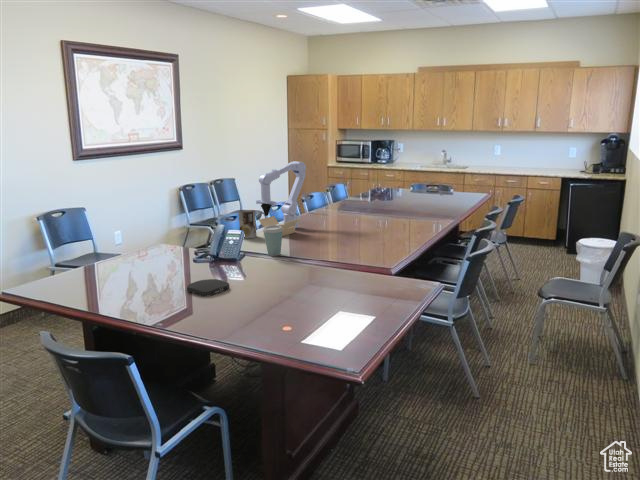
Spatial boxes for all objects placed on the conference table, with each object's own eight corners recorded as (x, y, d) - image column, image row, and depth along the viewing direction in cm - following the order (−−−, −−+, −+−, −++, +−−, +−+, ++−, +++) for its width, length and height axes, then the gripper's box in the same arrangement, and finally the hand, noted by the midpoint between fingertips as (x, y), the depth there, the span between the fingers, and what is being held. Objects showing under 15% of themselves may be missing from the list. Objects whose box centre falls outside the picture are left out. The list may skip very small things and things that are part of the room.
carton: (280, 230, 339) (280, 224, 338) (295, 232, 332) (295, 226, 332) (263, 235, 325) (263, 229, 324) (278, 237, 318) (278, 231, 317)
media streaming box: (211, 283, 232) (210, 276, 231) (233, 289, 222) (232, 282, 222) (183, 291, 221) (182, 284, 220) (205, 298, 211) (205, 291, 211)
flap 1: (278, 224, 337) (273, 216, 338) (279, 223, 337) (273, 215, 338) (264, 228, 325) (258, 219, 326) (264, 227, 325) (259, 219, 326)
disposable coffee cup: (280, 257, 272) (280, 228, 269) (260, 256, 274) (259, 228, 271) (286, 252, 282) (285, 224, 279) (267, 251, 284) (266, 224, 281)
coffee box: (256, 236, 323) (255, 210, 320) (254, 238, 317) (253, 212, 314) (242, 236, 324) (241, 210, 321) (239, 238, 318) (238, 211, 314)
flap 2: (294, 225, 330) (299, 218, 327) (294, 225, 330) (299, 219, 327) (279, 229, 318) (284, 222, 315) (280, 230, 318) (285, 222, 315)
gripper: (252, 194, 331) (253, 215, 334) (271, 195, 323) (271, 217, 326) (259, 193, 337) (260, 213, 340) (277, 194, 329) (278, 215, 332)
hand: (266, 215), depth 334 cm, fingers closed
